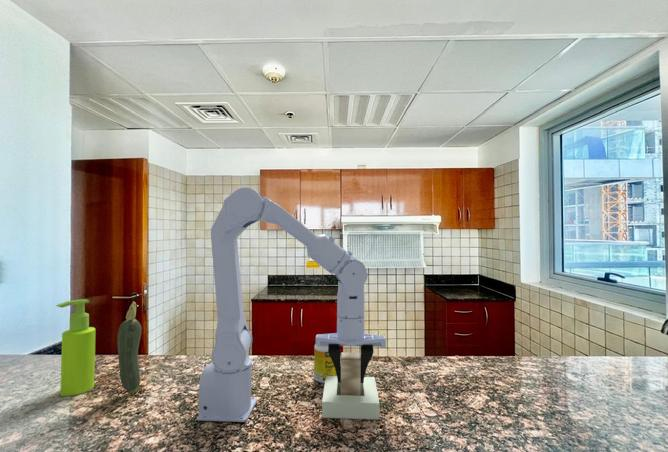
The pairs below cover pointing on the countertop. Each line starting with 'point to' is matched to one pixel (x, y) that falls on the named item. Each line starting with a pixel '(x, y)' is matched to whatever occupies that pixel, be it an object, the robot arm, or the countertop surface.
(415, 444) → the countertop surface
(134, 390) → the vegetable
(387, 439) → the countertop surface
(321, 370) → the supplement bottle
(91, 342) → the soap dispenser
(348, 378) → the peg
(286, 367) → the countertop surface
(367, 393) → the socket block
